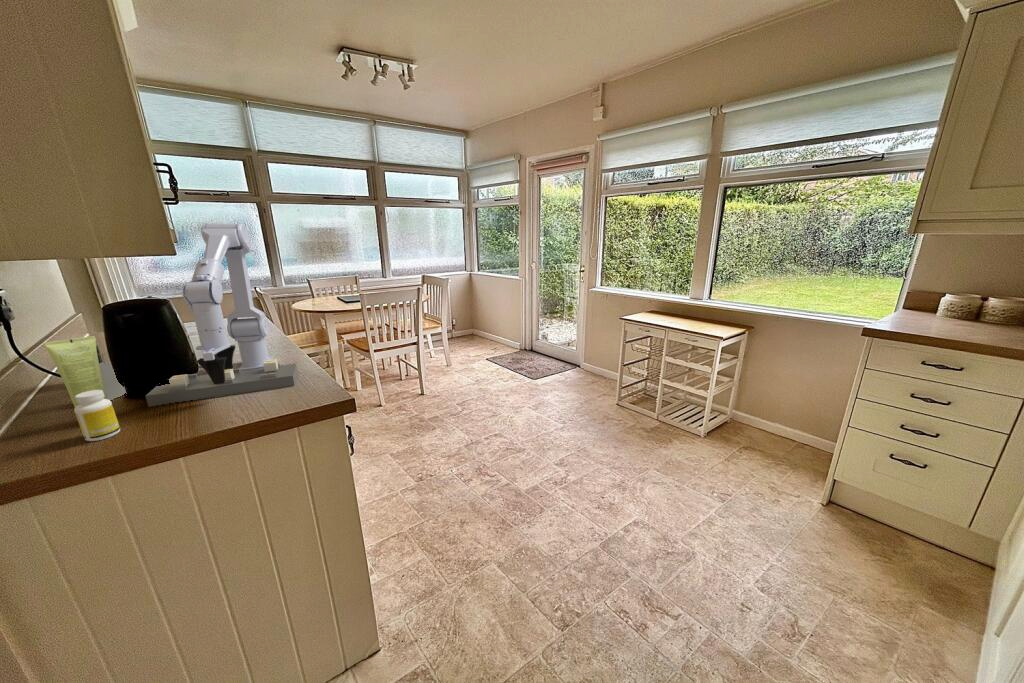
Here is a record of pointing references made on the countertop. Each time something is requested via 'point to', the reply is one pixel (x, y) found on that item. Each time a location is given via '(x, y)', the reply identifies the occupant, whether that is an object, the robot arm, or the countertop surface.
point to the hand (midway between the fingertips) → (223, 378)
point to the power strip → (224, 385)
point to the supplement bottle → (96, 416)
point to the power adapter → (110, 381)
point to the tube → (77, 365)
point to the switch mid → (229, 374)
